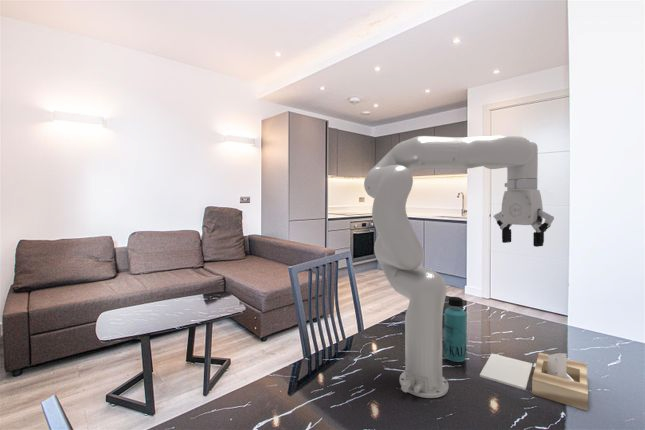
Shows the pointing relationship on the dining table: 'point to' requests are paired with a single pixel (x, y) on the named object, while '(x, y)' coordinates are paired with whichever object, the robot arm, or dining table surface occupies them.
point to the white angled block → (558, 365)
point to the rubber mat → (507, 371)
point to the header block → (561, 383)
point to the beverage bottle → (455, 331)
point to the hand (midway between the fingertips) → (521, 244)
